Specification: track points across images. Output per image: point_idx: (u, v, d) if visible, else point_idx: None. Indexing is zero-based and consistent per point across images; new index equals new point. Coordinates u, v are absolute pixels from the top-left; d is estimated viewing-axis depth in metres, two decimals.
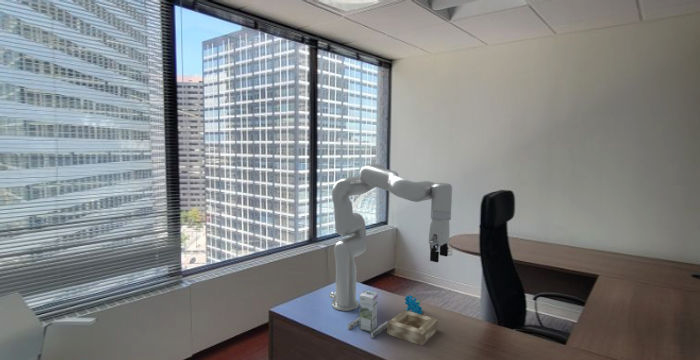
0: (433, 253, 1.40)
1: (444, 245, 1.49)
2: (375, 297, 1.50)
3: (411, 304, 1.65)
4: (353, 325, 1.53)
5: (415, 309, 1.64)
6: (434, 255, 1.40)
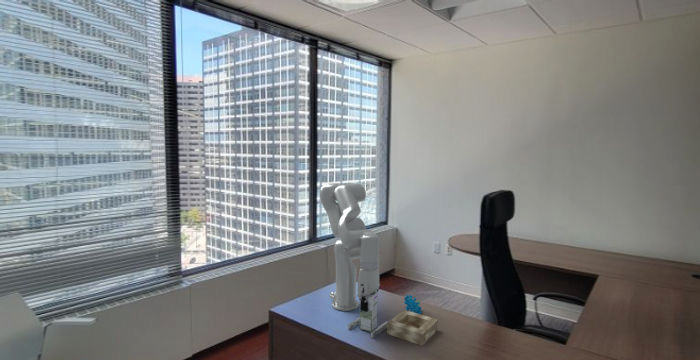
0: (362, 303, 1.48)
1: None
2: (375, 297, 1.50)
3: (410, 304, 1.65)
4: (353, 325, 1.53)
5: (414, 309, 1.65)
6: (363, 305, 1.48)
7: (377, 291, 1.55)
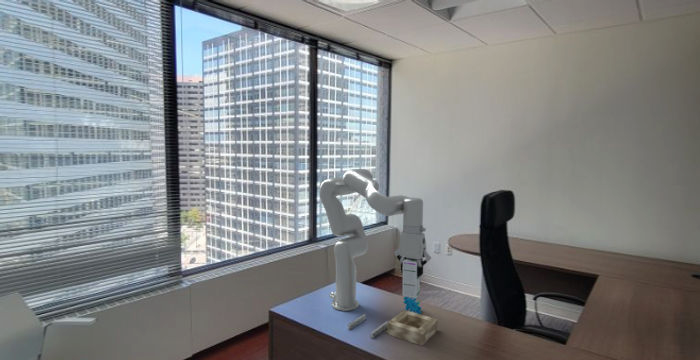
0: None
1: (419, 264, 1.45)
2: (410, 264, 1.45)
3: (410, 303, 1.66)
4: (353, 325, 1.53)
5: (414, 309, 1.65)
6: None
7: (424, 263, 1.44)
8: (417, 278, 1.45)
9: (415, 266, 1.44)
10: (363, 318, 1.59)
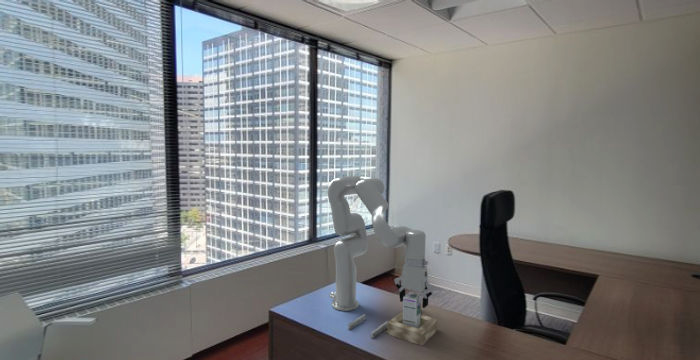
0: None
1: None
2: (410, 300, 1.46)
3: None
4: (353, 325, 1.53)
5: None
6: None
7: (429, 295, 1.44)
8: (417, 315, 1.47)
9: (415, 303, 1.46)
10: (363, 318, 1.59)
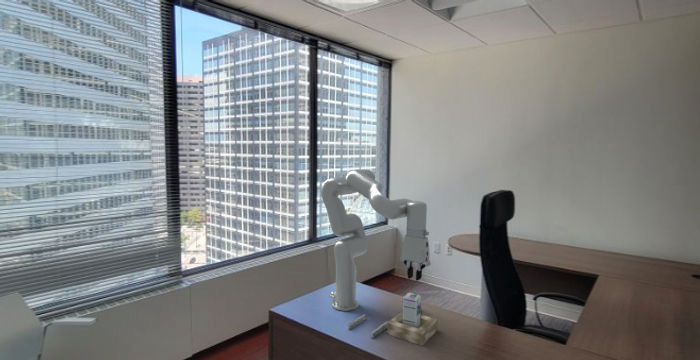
0: None
1: (418, 267, 1.46)
2: (410, 300, 1.46)
3: None
4: (353, 325, 1.53)
5: None
6: None
7: (422, 267, 1.45)
8: (417, 315, 1.47)
9: (415, 303, 1.46)
10: (363, 318, 1.59)
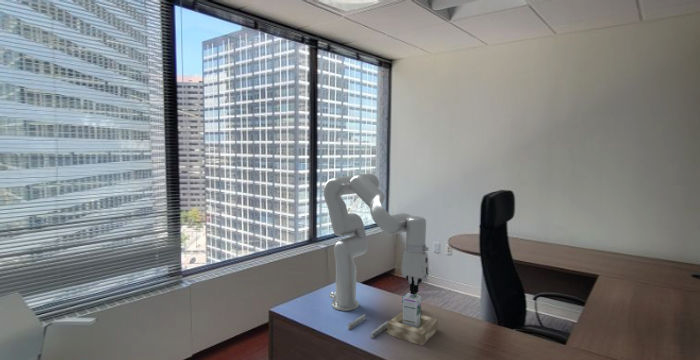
0: None
1: None
2: (410, 300, 1.46)
3: None
4: (353, 325, 1.53)
5: None
6: None
7: (419, 282, 1.46)
8: (417, 315, 1.47)
9: (415, 303, 1.46)
10: (363, 318, 1.59)
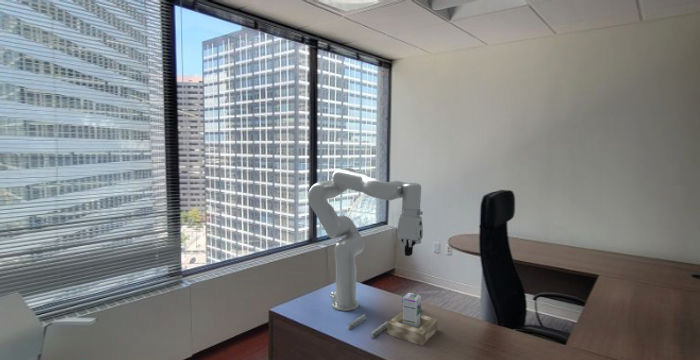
0: None
1: (409, 243, 1.57)
2: (410, 300, 1.46)
3: None
4: (353, 325, 1.53)
5: None
6: None
7: (413, 244, 1.55)
8: (417, 315, 1.47)
9: (415, 303, 1.46)
10: (363, 318, 1.59)
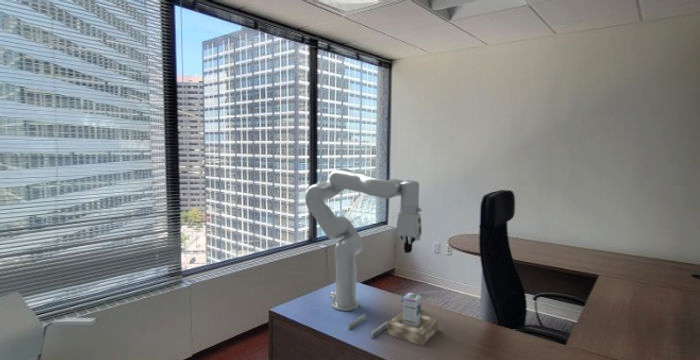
0: None
1: None
2: (410, 300, 1.46)
3: None
4: (353, 325, 1.53)
5: None
6: None
7: (412, 241, 1.58)
8: (417, 315, 1.47)
9: (415, 303, 1.46)
10: (363, 318, 1.59)
